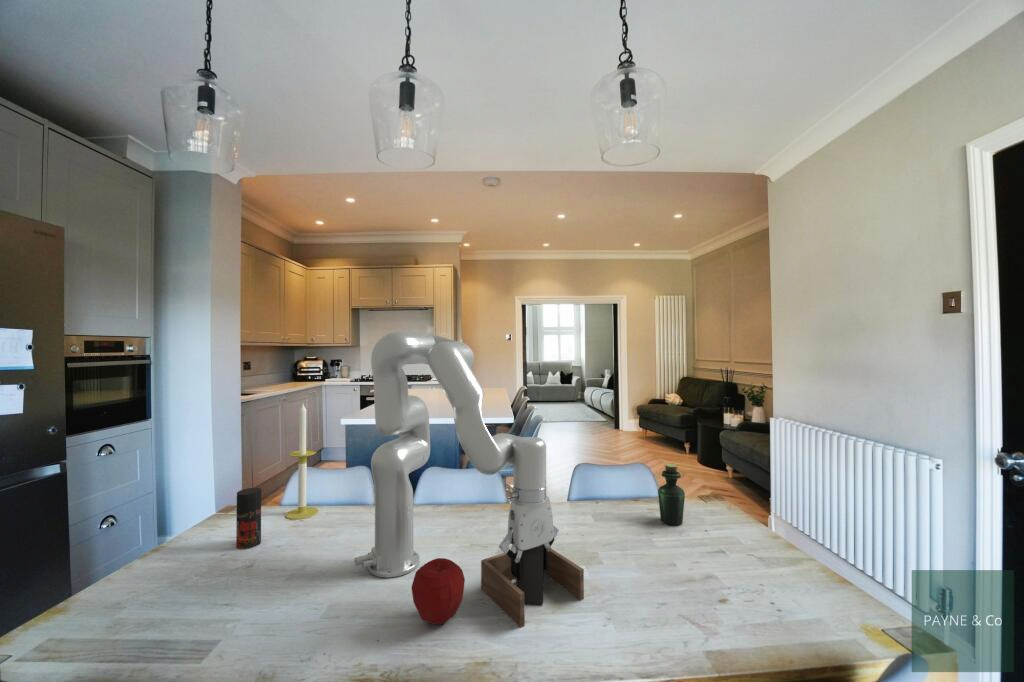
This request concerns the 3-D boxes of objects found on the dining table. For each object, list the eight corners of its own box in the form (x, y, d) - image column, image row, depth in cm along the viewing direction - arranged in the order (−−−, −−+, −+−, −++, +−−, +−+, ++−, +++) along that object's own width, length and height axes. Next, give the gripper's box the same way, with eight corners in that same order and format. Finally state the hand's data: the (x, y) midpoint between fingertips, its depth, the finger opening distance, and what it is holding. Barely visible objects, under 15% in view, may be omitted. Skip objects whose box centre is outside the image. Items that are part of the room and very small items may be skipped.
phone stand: (542, 605, 89) (542, 549, 89) (514, 604, 89) (514, 548, 90) (544, 582, 98) (543, 531, 98) (518, 580, 98) (518, 530, 99)
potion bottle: (659, 526, 129) (659, 468, 129) (656, 515, 136) (656, 461, 137) (687, 528, 127) (687, 469, 127) (682, 517, 135) (682, 462, 135)
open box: (520, 627, 82) (520, 594, 82) (481, 588, 95) (481, 560, 95) (583, 598, 91) (583, 569, 91) (539, 567, 105) (539, 541, 105)
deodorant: (231, 547, 116) (231, 493, 116) (251, 538, 121) (252, 486, 121) (245, 550, 113) (246, 496, 114) (265, 541, 119) (266, 489, 119)
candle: (290, 509, 143) (290, 400, 143) (321, 506, 145) (322, 399, 146) (281, 520, 133) (282, 404, 134) (315, 517, 135) (315, 403, 136)
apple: (416, 603, 90) (416, 549, 90) (466, 601, 90) (466, 547, 91) (406, 638, 79) (406, 577, 79) (463, 636, 79) (463, 575, 80)
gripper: (506, 506, 86) (506, 593, 86) (569, 490, 96) (570, 568, 95) (488, 495, 92) (488, 576, 92) (549, 481, 102) (549, 554, 102)
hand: (530, 571), depth 94 cm, fingers closed on phone stand, 6 cm apart
